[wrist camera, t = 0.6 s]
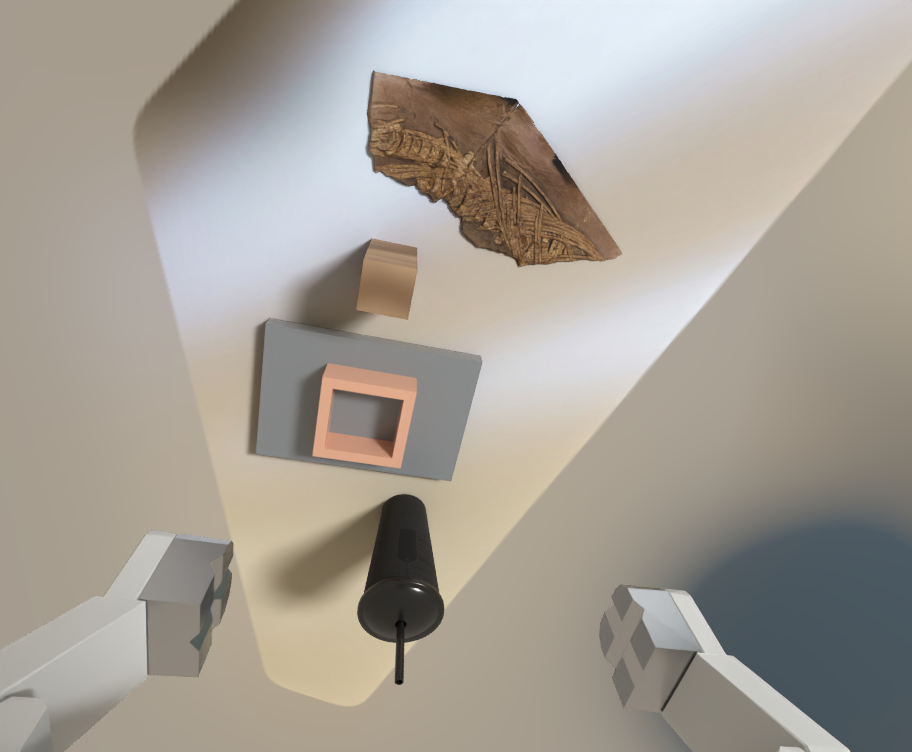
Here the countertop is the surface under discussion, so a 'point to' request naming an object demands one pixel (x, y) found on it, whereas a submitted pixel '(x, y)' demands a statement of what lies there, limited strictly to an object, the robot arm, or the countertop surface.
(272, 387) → the stand
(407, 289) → the brown wooden block
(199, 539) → the robot arm
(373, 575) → the drinking cup
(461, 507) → the countertop surface
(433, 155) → the wooden fragment
